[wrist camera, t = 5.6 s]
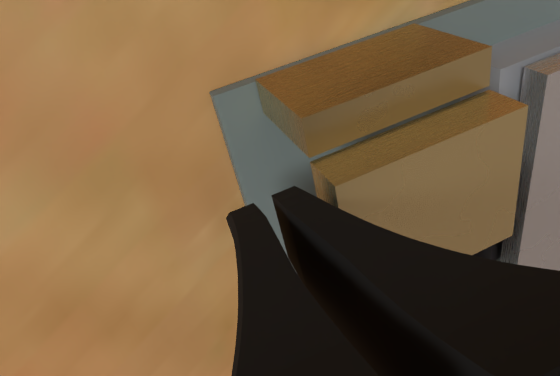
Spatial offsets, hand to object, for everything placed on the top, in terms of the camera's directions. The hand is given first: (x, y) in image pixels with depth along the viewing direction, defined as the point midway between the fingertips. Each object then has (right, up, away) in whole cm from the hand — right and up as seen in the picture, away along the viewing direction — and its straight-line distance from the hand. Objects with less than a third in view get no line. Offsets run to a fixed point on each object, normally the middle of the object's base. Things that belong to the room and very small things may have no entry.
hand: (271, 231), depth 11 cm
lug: (+2, +3, +4) cm, 5 cm away
